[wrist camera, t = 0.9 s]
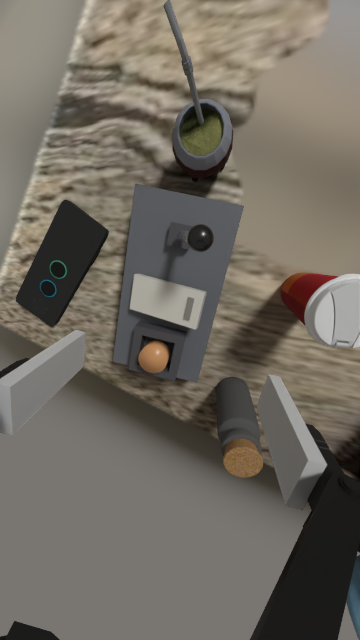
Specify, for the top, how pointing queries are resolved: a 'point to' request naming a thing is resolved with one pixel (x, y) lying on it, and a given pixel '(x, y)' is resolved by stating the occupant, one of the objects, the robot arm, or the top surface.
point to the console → (173, 274)
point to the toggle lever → (197, 237)
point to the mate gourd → (199, 123)
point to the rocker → (167, 300)
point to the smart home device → (61, 262)
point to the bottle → (238, 428)
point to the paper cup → (326, 307)
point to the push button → (154, 356)
